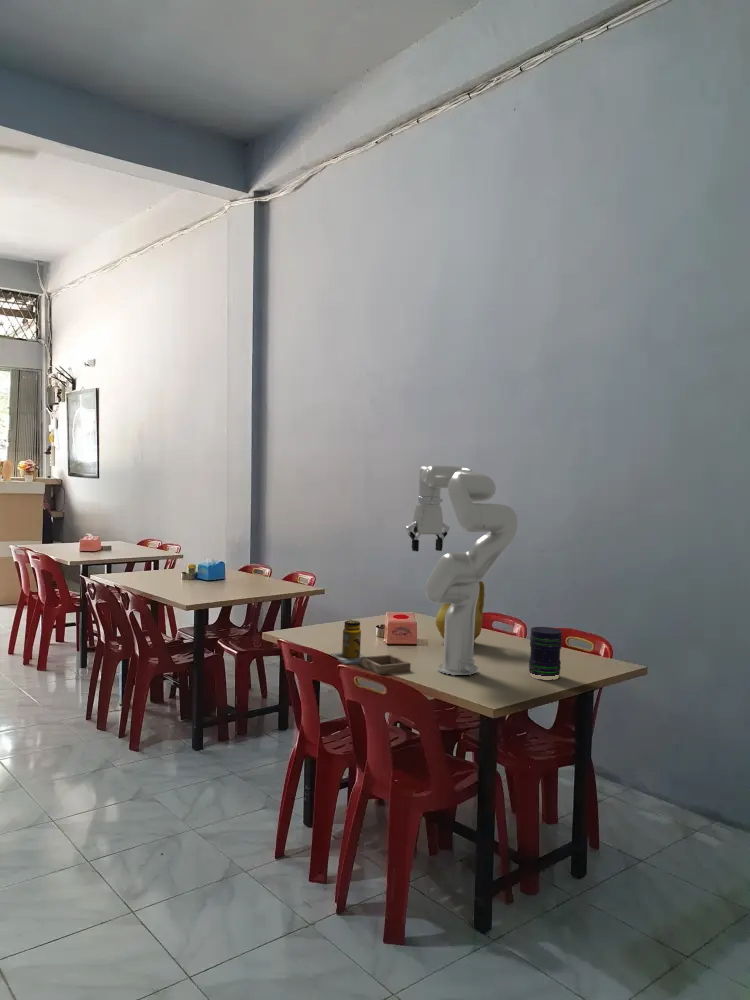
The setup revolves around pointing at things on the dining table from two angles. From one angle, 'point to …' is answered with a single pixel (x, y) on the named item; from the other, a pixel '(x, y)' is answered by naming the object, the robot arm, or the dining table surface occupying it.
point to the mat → (349, 661)
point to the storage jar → (545, 651)
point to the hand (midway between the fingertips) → (427, 550)
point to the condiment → (351, 641)
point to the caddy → (393, 667)
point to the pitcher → (478, 614)
